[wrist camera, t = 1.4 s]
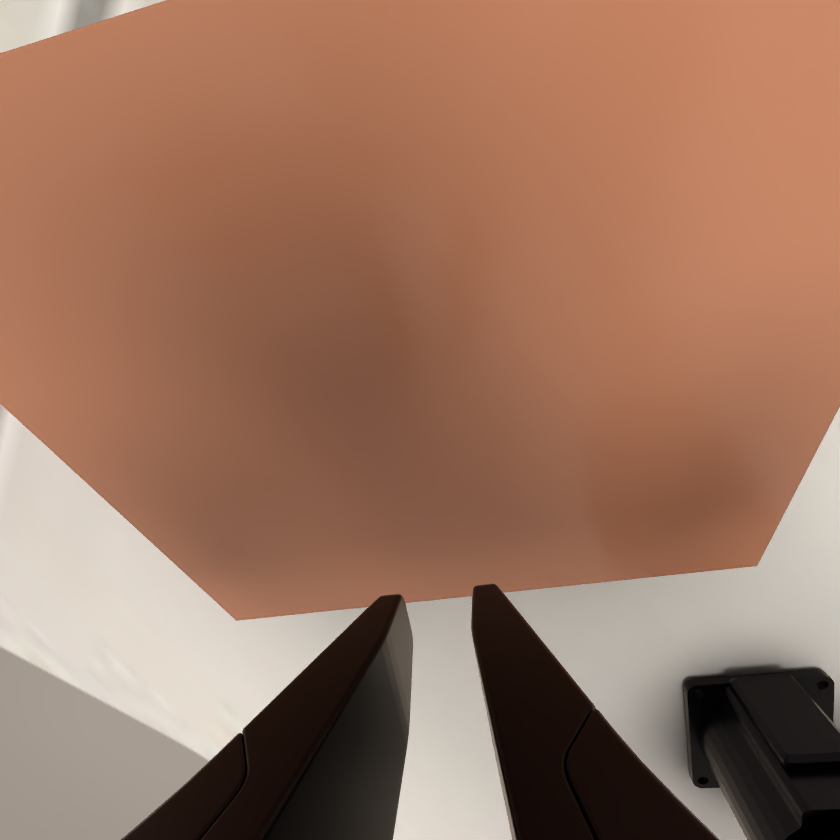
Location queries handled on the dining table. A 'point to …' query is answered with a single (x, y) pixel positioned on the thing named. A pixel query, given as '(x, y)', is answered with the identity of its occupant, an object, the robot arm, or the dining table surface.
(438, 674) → the dining table surface
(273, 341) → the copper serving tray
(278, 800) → the robot arm
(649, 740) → the dining table surface
